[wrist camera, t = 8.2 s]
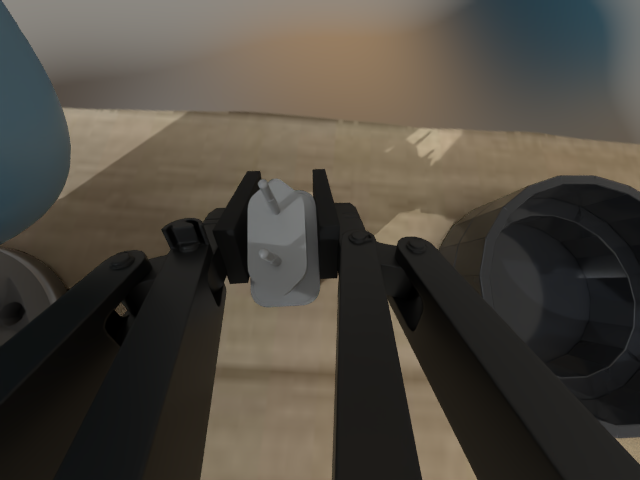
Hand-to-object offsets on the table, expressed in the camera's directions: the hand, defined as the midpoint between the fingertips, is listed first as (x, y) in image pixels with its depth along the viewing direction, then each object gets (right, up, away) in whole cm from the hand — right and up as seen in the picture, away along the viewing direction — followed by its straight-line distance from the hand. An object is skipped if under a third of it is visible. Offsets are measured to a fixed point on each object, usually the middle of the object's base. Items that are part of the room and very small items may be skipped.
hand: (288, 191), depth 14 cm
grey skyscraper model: (0, -5, +3) cm, 6 cm away
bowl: (+18, -7, +4) cm, 19 cm away
